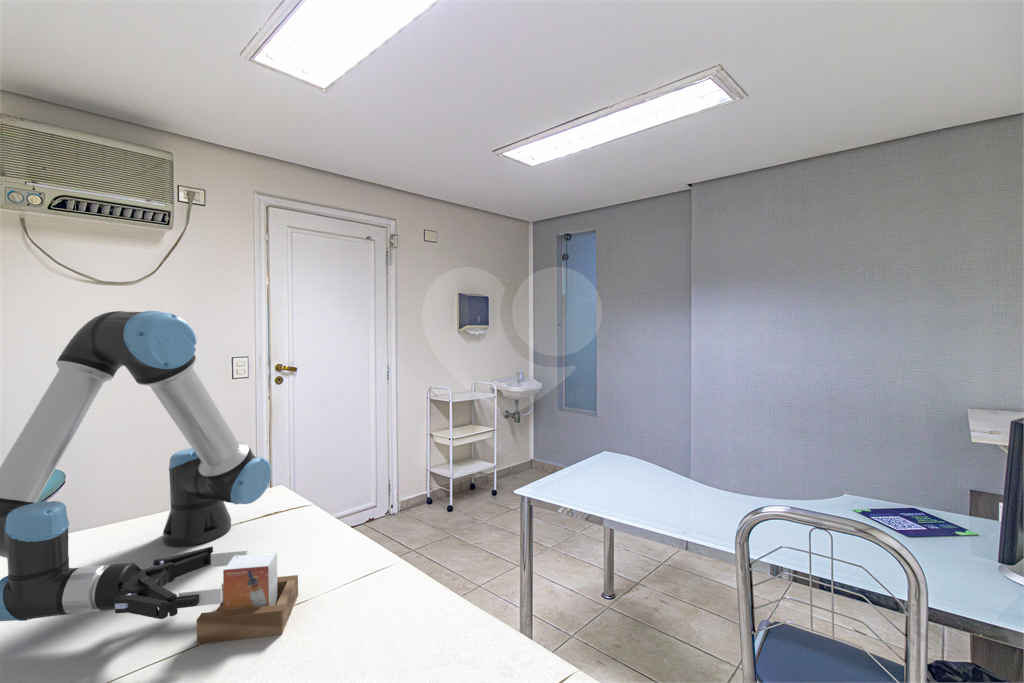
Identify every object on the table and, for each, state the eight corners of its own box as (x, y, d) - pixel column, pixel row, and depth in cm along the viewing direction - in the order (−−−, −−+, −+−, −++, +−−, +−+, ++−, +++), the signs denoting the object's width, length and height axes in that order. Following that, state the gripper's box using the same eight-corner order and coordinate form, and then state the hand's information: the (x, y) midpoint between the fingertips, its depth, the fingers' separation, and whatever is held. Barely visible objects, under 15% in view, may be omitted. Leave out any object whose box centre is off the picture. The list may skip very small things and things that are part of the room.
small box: (222, 625, 86) (221, 570, 86) (234, 606, 92) (233, 554, 91) (269, 620, 88) (268, 565, 87) (278, 602, 93) (277, 551, 93)
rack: (224, 603, 94) (223, 582, 94) (298, 595, 97) (297, 575, 97) (197, 644, 82) (196, 620, 82) (282, 634, 85) (281, 610, 85)
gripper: (143, 571, 96) (255, 560, 101) (55, 656, 72) (208, 636, 77) (142, 535, 96) (255, 526, 101) (53, 609, 72) (207, 592, 76)
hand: (235, 574), depth 89 cm, fingers open, 13 cm apart
